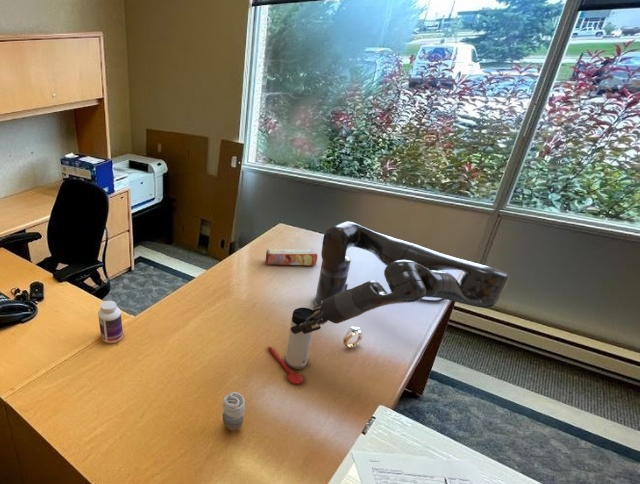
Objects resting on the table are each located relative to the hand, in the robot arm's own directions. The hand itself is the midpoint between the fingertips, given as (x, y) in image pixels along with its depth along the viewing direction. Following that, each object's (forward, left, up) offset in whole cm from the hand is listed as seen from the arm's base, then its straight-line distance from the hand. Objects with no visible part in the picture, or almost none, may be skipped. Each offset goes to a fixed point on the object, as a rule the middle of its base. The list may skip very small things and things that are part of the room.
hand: (296, 325), depth 127 cm
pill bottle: (+53, -31, -15) cm, 63 cm away
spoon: (+3, +1, -15) cm, 15 cm away
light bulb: (+30, +18, -15) cm, 38 cm away
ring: (-22, 0, -15) cm, 27 cm away
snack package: (-36, -56, -15) cm, 68 cm away
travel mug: (-1, +1, -15) cm, 15 cm away
